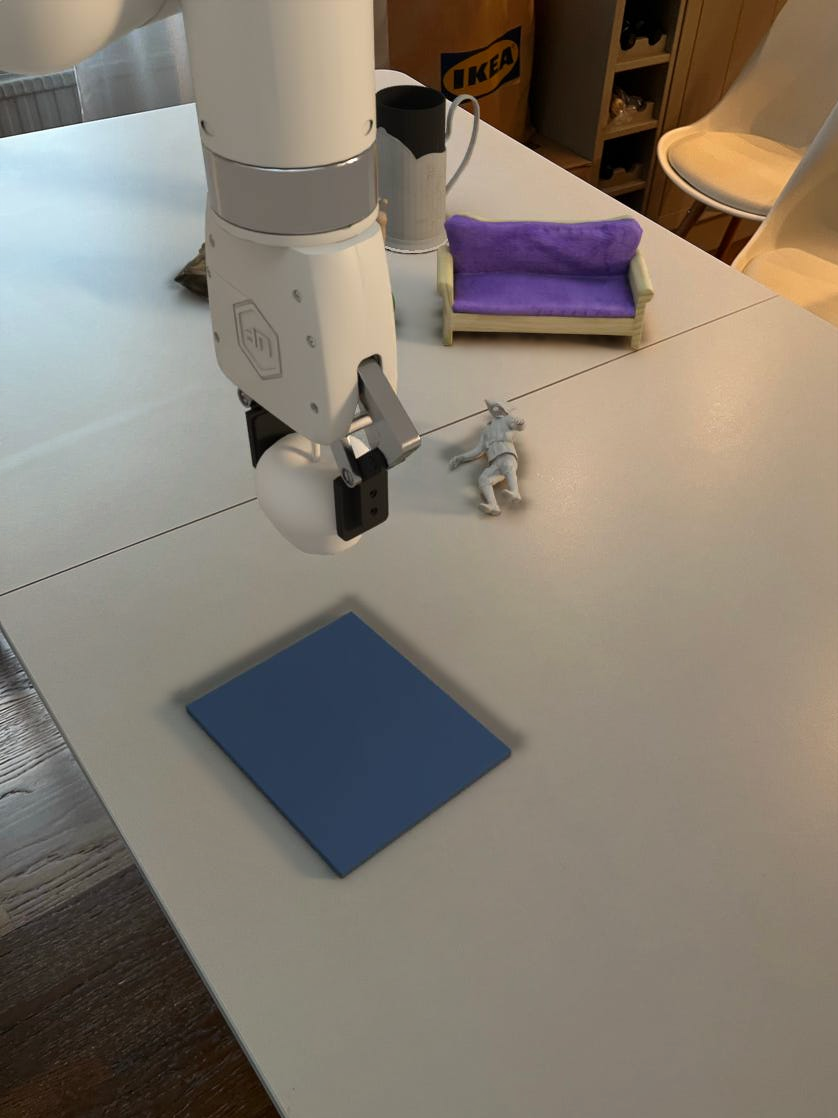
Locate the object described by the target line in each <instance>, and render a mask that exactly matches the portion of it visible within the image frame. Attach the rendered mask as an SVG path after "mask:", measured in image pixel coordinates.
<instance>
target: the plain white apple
mask: <svg viewBox="0 0 838 1118" xmlns="http://www.w3.org/2000/svg"><path fill="white" fill-rule="evenodd" d="M348 437H349V440H350V443H351V446H352V448H353V451H354V454H355V457H356V459H357V458H358V457H360V456H361V455H363V454H365V453H366V452H368V451H370V450H371V449H369V448H368V446H367V445H366V444H365V443H364V442H363V441H362V440H361V439H359V438H357V437H355V436H352V435H348ZM338 476H341V475H340V472H339V469H338V466H337V464H336V461H335V458H334V455H333V453H332V450H331V447H330V445H328V446H323V445H320V444H317V443H314V442H312V441H310V440H308V439H307V438H305V437H303V436H302V435H300V434H299V433H298V432H297V433H292V434H288V435H286V436H285V437H283V438H281V439H280V440H278V441H277V442H276V443H275V444H273V445H272V446H271V447H270V448H269V449H267V450H266V451H265V452H264V454H263V455H262V457H261V458H260V460H259V462H258V464H257V467H256V469H255V472H254V483H253V484H254V491H255V496H256V500H257V503H258V505H259V507H260V509H261V511H262V512H263V514H264V515H265V517H266V518H267V519H268V520H269V521H270V523H271V524H272V525H273V526H274V528H275V529H276V530H277V531H278V533H279V534H280V535H281V536H282V537H283V539H285V540H286V542H288V543H290V545H292V546H293V547H294V548H296V549H297V550H299V551H300V552H303V553H306V554H310V555H320V556H321V555H322V556H332V555H338V554H340V553H342V552H344V551H346V550H349V549H350V548H352V547H353V546H354V545H355V544H357V543H358V542H359V541H360V539H361V537H362V536H363V534H364V533H362V534H360V535H359V536H357V537H355V538H353V539H351V540H349V541H344V540H342V539H341V538H340V537H339V536H338V535H337V529H336V515H335V501H334V487H333V480H334V479H336V478H337V477H338Z"/></svg>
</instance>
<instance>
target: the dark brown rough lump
mask: <svg viewBox="0 0 838 1118" xmlns="http://www.w3.org/2000/svg"><path fill="white" fill-rule="evenodd" d="M173 281H174V282H175V283H178V284H179V285H181V286H182V287H184V288H185V289H186V290H188V291H189V292H191V293H192V294H194V295H196V296H198V297H202V298H204V299H209V295H208V284H207V271H206V254H205V241H204V242H203V243H201V247H200V248H199V249H198V254H197V255H196V257H194V258H193V259H192V260H190V261H189V262H187V264H186V265H184V267H183V268H182V269H181V270H180V271H179V272H178V274H177V275H176V276H175V277H174V279H173Z"/></svg>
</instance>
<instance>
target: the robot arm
mask: <svg viewBox="0 0 838 1118" xmlns="http://www.w3.org/2000/svg"><path fill="white" fill-rule="evenodd" d="M180 13H181V14H182V21H183V27H184V35H185V42H186V48H187V49H186V50H187V55H188V62H189V69H190V70H189V71H190V75H191V82H192V90H193V94H194V95H193V96H194V104H195V111H196V119H197V124H198V131H199V137H200V145H201V151H202V158H203V166H204V172H205V180H206V186H207V187H206V188H207V193H206V204H205V213H204V214H205V220H204V223H205V224H204V242H205V254H206V271H207V284H208V295H209V298H208V305H209V313H210V323H211V330H212V339H213V344H214V345H213V347H214V352H215V358H216V363H217V366H218V367H219V369H220V371H221V372H222V373H223V375H224V376H225V377H226V379H228V380H229V382H231V383H232V384H233V386H235V387H237V389H236V393H237V397H238V400H239V402H240V403H241V405H242V406H243V407H244V408H245V409H249V408H250V409H249V410H245V412H244V414H245V422H246V429H247V436H248V443H249V450H250V457H251V464H252V467H253V468H254V469H255V470H256V467H257V464H258V462H259V460H260V458H261V457H262V455H263V454H264V452H265V451H266V450H267V449H269V448H270V447H271V446H272V445H273V444H275V443H276V442H277V441H278V440H280V439H281V438H283V437H285V436H286V435H288V434H292V433H297V432H298V433H299V434H300V435H302V436H303V437H305V438H307V439H308V440H310V441H312V442H314V443H317V444H320V445H323V446H328V445H330V447H331V450H332V453H333V455H334V458H335V461H336V464H337V466H338V469H339V472H340V475H341V476H338V477H337V478H336V479H334V480H333V487H334V501H335V515H336V529H337V535H338V536H339V537H340V538H341V539H342V540H344V541H349V540H351V539H353V538H355V537H357V536H359V535H360V534H362V533H363V534H364V533H366V532H368V531H370V530H371V529H374V528H376V527H377V526H379V525H381V524H383V523H384V522H386V521H387V520H388V518H389V516H390V515H389V514H390V511H389V508H390V507H389V506H390V505H389V470H391V469H393V468H395V467H396V466H399V465H400V464H402V463H403V462H405V461H406V460H407V458H409V457H410V456H411V455H412V454H413V453H414V452H416V451H417V450H418V449H419V448H421V446H422V439H421V436H420V433H419V432H418V430H417V429H416V426H415V425H414V423H413V422H412V420H411V418H410V416H409V415H408V413H407V411H406V410H405V407H404V406H403V404H402V402H401V401H400V398H399V397H398V347H397V346H398V345H397V331H396V320H395V311H394V310H393V299H392V293H393V291H392V285H391V284H392V283H391V278H390V277H391V276H390V270H389V264H388V258H387V252H386V249H385V247H384V242H383V236H382V231H381V226H380V225H379V224H378V223H377V221H376V218H377V216H378V211H379V205H378V170H377V135H376V96H375V94H376V64H375V63H376V62H375V59H376V58H375V27H374V26H375V25H374V20H375V19H374V0H0V71H1V72H5V73H8V74H12V75H19V76H21V75H22V76H31V77H36V76H39V77H40V76H45V75H51V74H56V73H61V72H64V71H67V70H68V69H70V68H72V67H75V66H77V65H78V64H81V63H82V62H84V61H86V60H88V59H89V58H91V57H93V56H95V55H96V54H97V53H100V52H101V51H102V50H105V48H107V47H109V46H111V45H112V44H114V43H115V42H117V41H118V40H120V39H122V38H123V37H125V36H127V35H129V34H130V33H132V32H133V31H135V30H137V29H141V28H143V27H146V26H149V25H151V24H154V23H157V22H160V21H162V20H165V19H167V18H170V17H172V16H175V15H178V14H180ZM391 291H392V292H391ZM357 407H358V408H359V412H357V413H356V411H357ZM361 430H363V431H364V433H365V436H366V439H367V442H368V445H369V448H370V449H369V450H370V451H368V452H366V453H365V454H363V455H361V456H360V457H358V458H357V459H356V457H355V454H354V451H353V448H352V446H351V443H350V440H349V437H348V435H350V436H352V435H353V434H354V433H357V432H359V431H361ZM363 534H362V535H363Z"/></svg>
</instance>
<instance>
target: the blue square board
mask: <svg viewBox="0 0 838 1118" xmlns="http://www.w3.org/2000/svg"><path fill="white" fill-rule="evenodd" d="M185 710H186V712H187V714H188V715H189V716H190V717H191V718H192V719H193V720H194V721H195V722H196V724H198V726H199V727H200V728H201V729H202V730H203V731H204V732H205V733H206V734H207V735H208V736H209V737H210V738H211V739H212V741H213V742H214V743H215V744H216V745H217V746H218V747H219V748H220V749H221V750H222V751H223V753H224V754H225V755H226V756H227V757H228V758H229V759H230V760H231V761H232V763H234V764H235V766H237V768H238V769H239V770H240V771H241V772H242V773H243V774H244V775H245V776H246V778H247V779H248V780H250V782H251V783H252V784H253V785H254V786H255V787H256V788H257V789H258V791H260V793H261V794H262V795H263V796H264V797H265V798H266V799H267V800H268V801H269V802H270V803H271V804H272V806H274V807H275V809H276V810H277V811H278V812H279V813H280V814H281V815H282V816H283V817H284V818H285V820H287V822H288V823H289V824H290V825H291V826H292V827H293V828H294V829H295V830H296V832H298V833H299V835H301V837H302V838H303V839H304V840H305V841H306V842H307V843H308V844H309V846H311V847H312V849H313V850H314V851H315V852H316V853H317V854H318V855H319V856H320V857H321V858H322V859H323V860H324V862H325V863H326V864H327V865H328V866H329V867H330V868H331V869H332V870H333V871H334V872H335V873H336V874H337V876H338V877H339V878H341V879H343V878H345V877H346V876H347V875H349V874H350V873H352V872H353V871H354V870H356V869H358V867H360V866H361V865H362V864H364V863H365V862H367V861H368V860H369V859H370V858H372V857H373V856H375V855H376V854H378V853H379V852H381V851H382V850H383V849H385V848H386V847H387V846H389V845H390V844H391V843H393V842H394V841H396V840H397V839H398V838H400V837H402V835H403V834H405V833H406V832H408V831H410V830H411V829H412V828H413V827H415V826H416V825H417V824H419V823H420V822H422V821H423V820H425V818H427V817H428V816H430V815H431V814H432V813H434V812H435V811H437V810H438V809H439V808H440V807H442V806H444V805H445V804H446V803H447V802H449V801H450V800H452V799H453V798H454V797H456V796H457V795H458V794H460V793H461V792H463V791H464V790H465V789H467V788H468V787H469V786H471V785H472V784H473V783H475V782H477V780H479V779H480V778H482V777H483V776H485V775H486V774H487V773H488V772H490V771H491V770H493V769H494V768H496V767H497V766H499V764H501V763H503V762H504V761H505V760H506V759H508V758H509V757H511V755H512V748H510V747H509V746H508V745H507V744H505V743H504V742H503V741H502V740H500V739H499V738H498V737H497V736H496V735H495V734H494V733H493V732H492V731H490V730H489V729H488V728H487V727H486V726H484V725H483V724H482V723H481V722H480V721H479V720H478V719H476V717H474V716H473V715H472V714H471V713H469V712H468V711H467V710H466V709H465V708H464V707H463V706H461V705H460V704H459V703H458V702H457V701H455V699H453V698H452V697H451V696H450V695H449V694H447V693H446V692H445V691H444V690H443V689H442V688H441V687H440V686H438V685H437V683H435V682H434V681H433V680H432V679H430V678H429V677H428V676H427V675H426V674H425V673H424V672H422V670H420V669H419V668H418V667H416V666H415V664H413V663H412V662H411V661H410V660H409V659H407V658H406V657H405V656H404V655H403V654H402V653H400V652H399V651H398V650H397V649H396V648H395V647H394V646H393V645H391V644H390V643H389V642H388V641H386V640H385V639H384V638H383V637H382V636H381V635H380V634H379V633H377V632H376V631H375V630H374V629H373V628H372V627H371V626H369V625H368V624H367V623H366V621H365V622H364V620H362V618H360V617H359V616H358V615H356V613H354V612H353V611H349V612H347V613H346V614H344V615H342V616H340V617H339V618H337V619H335V620H333V621H331V622H330V623H328V624H326V625H324V626H323V627H321V628H319V629H318V630H316V631H314V632H312V633H311V634H308V635H307V636H306V637H303V638H301V639H300V640H299V641H297V642H295V643H293V644H292V645H289V646H288V647H286V648H284V649H283V650H281V651H279V652H277V653H276V654H274V655H272V656H270V657H268V658H266V660H263V661H262V662H260V663H258V664H257V665H255V666H253V667H251V668H250V669H248V670H246V671H244V672H242V673H241V674H239V675H237V676H235V677H234V678H232V679H230V680H229V681H227V682H225V683H223V684H222V685H220V686H218V687H216V688H214V689H213V690H211V691H209V692H208V693H206V694H204V695H203V696H200V697H199V698H197V699H196V700H193V701H192V702H190V703H188V704H187V705H185Z"/></svg>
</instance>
